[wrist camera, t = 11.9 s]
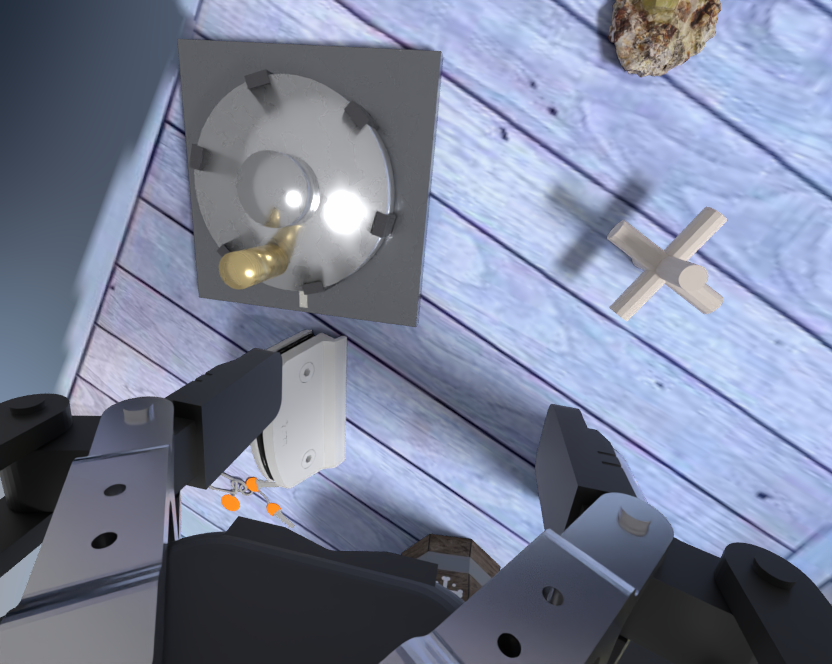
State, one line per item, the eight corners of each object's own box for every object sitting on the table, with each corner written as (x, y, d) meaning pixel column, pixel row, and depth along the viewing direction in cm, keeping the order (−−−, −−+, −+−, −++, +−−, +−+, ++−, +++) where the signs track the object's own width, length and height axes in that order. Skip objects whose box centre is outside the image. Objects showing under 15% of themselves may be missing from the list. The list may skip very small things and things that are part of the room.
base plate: (418, 322, 43) (415, 327, 42) (207, 294, 46) (198, 297, 45) (443, 57, 35) (441, 50, 34) (188, 44, 39) (176, 38, 37)
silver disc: (228, 54, 37) (149, 11, 28) (424, 123, 36) (404, 100, 27) (200, 247, 43) (129, 260, 34) (366, 311, 42) (335, 339, 33)
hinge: (345, 462, 50) (282, 513, 42) (315, 449, 52) (250, 495, 44) (347, 333, 45) (275, 361, 37) (314, 324, 47) (239, 349, 39)
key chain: (207, 503, 57) (203, 507, 56) (209, 459, 54) (204, 463, 53) (295, 529, 55) (292, 534, 55) (300, 485, 53) (297, 490, 52)
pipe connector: (643, 331, 40) (690, 373, 30) (561, 269, 39) (584, 291, 30) (730, 246, 36) (814, 263, 27) (642, 176, 36) (696, 169, 26)
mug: (383, 586, 56) (347, 718, 41) (421, 515, 51) (395, 637, 37) (517, 650, 55) (527, 806, 41) (569, 584, 50) (599, 734, 36)
